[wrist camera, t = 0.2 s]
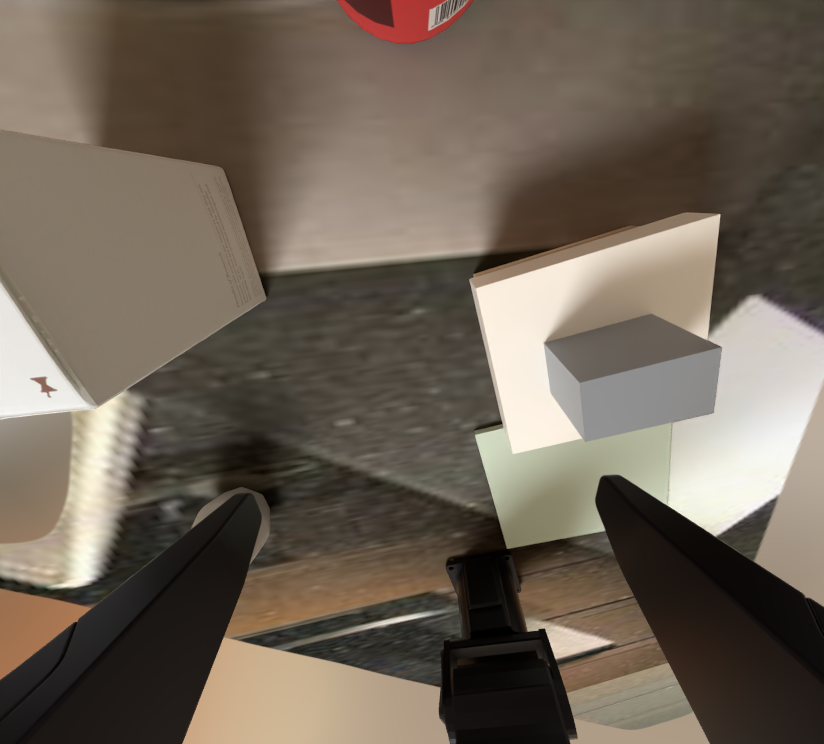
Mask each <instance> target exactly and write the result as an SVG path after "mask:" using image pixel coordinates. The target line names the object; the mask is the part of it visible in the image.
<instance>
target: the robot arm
mask: <svg viewBox="0 0 824 744" xmlns="http://www.w3.org/2000/svg"><path fill="white" fill-rule="evenodd" d="M595 504H596V508H597V511H598V513H599V516H600V518H601V521H602V523H603V526H604V528H605V531H606V533H607V536H608V538H609V541H610V544H611V546H612V549H613V551H614V554H615V556H616V559H617V561H618V563H619V566H620V568H621V570H622V572H623V574H624V577H625V579H626V581H627V583H628V585H629V586H630V588H631V590H632V592H633V594H634V596H635V598H636V600H637V602H638V604H639V606H640V608H641V610H642V612H643V614H644V616H645V618H646V620H647V622H648V624H649V626H650V627H651V629H652V631H653V633H654V635H655V637H656V639H657V641H658V643H659V645H660V647H661V649H662V651H663V653H664V655H665V657H666V659H667V661H668V663H669V665H670V667H671V669H672V670H673V672H674V674H675V676H676V678H677V680H678V682H679V684H680V686H681V688H682V690H683V692H684V694H685V696H686V698H687V700H688V702H689V704H690V706H691V708H692V710H693V711H694V713H695V715H696V717H697V719H698V721H699V723H700V725H701V727H702V729H703V731H704V733H705V735H706V737H707V739H708V741H709V743H710V744H824V607H823V606H821V605H820V604H819V603H817V602H815V601H814V600H812V599H811V598H806V597H805V595H804V594H802V593H801V592H800V591H798V590H797V589H795V588H794V587H792V586H791V585H789V584H787V583H786V582H784V581H783V580H781V579H780V578H778V577H777V576H775V575H774V574H772V573H771V572H769V571H767V570H766V569H764V568H763V567H761V566H760V565H758V564H757V563H755V562H754V561H752V560H751V559H749V558H747V557H746V556H744V555H743V554H741V553H740V552H738V551H737V550H735V549H734V548H732V547H731V546H729V545H727V544H726V543H724V542H723V541H721V540H720V539H718V538H717V537H715V536H714V535H712V534H710V533H709V532H707V531H706V530H704V529H703V528H701V527H700V526H698V525H697V524H695V523H694V522H692V521H690V520H689V519H687V518H686V517H684V516H683V515H681V514H680V513H678V512H677V511H675V510H674V509H672V508H670V507H669V506H667V505H666V504H664V503H663V502H661V501H660V500H658V499H657V498H655V497H653V496H652V495H650V494H649V493H647V492H646V491H644V490H643V489H641V488H640V487H638V486H637V485H635V484H633V483H632V482H630V481H629V480H627V479H626V478H624V477H623V476H621V475H617V474H614V475H603V476H601V477H600V480H599V484H598V488H597V492H596V496H595ZM261 522H262V514H261V511H260V509H259V506H258V504H257V502H256V499H255V497H254V495H253V494H252V493H237V494H235V495H233V496H232V497H231V498H229V499H228V500H227V501H226V502H224V503H223V504H222V505H220V506H219V507H218V508H217V509H215V510H214V511H213V512H212V513H210V514H209V515H208V516H207V517H205V518H204V519H203V520H202V521H200V522H199V523H198V524H197V525H195V526H194V527H193V528H192V529H190V530H189V531H188V532H187V533H185V534H184V535H183V536H182V537H180V538H179V539H178V540H177V541H175V542H174V543H173V544H172V545H170V546H169V547H168V548H167V549H165V550H164V551H163V552H162V553H160V554H159V555H158V556H157V557H155V558H154V559H153V560H152V561H150V562H149V563H148V564H147V565H145V566H144V567H143V568H142V569H140V570H139V571H138V572H137V573H135V574H134V575H133V576H132V577H130V578H129V579H128V580H127V581H125V582H124V583H123V584H122V585H120V586H119V587H118V588H117V589H115V590H114V591H113V592H112V593H110V594H109V595H108V596H107V597H105V598H104V599H103V600H102V601H100V602H99V603H98V604H97V605H95V606H94V607H93V608H92V609H90V610H89V611H88V612H87V613H85V614H84V615H83V616H82V617H80V618H79V620H78V622H74V623H73V624H71V625H70V626H69V627H68V628H66V629H65V630H64V631H63V632H61V633H60V634H59V635H58V636H56V637H55V638H54V639H53V640H51V641H50V642H49V643H48V644H46V645H45V646H44V647H42V648H41V649H40V650H39V651H37V652H36V653H35V654H33V655H32V656H31V657H30V658H28V659H27V660H26V661H24V662H23V663H22V664H21V665H20V666H18V667H17V668H16V669H14V670H13V671H11V672H10V673H9V674H7V675H6V676H5V677H3V678H2V679H1V680H0V744H182V743H183V741H184V738H185V736H186V733H187V730H188V728H189V725H190V722H191V720H192V717H193V715H194V712H195V710H196V707H197V705H198V702H199V699H200V697H201V694H202V691H203V689H204V686H205V684H206V681H207V679H208V676H209V673H210V671H211V668H212V666H213V663H214V661H215V658H216V655H217V653H218V650H219V648H220V645H221V642H222V640H223V637H224V635H225V632H226V630H227V627H228V624H229V622H230V619H231V617H232V614H233V611H234V609H235V606H236V604H237V601H238V598H239V596H240V593H241V590H242V588H243V585H244V582H245V579H246V576H247V572H248V569H249V565H250V562H251V558H252V554H253V551H254V547H255V544H256V540H257V537H258V533H259V530H260V526H261ZM446 570H447V573H448V575H449V577H450V579H451V582H452V584H453V586H454V589H455V591H456V593H457V596H458V604H459V613H460V623H461V632H462V640H454V641H450V640H444V650H442V651H441V670H442V678H441V691H440V702H439V717H440V719H441V721H442V722H443V723H444V724H445V726H446V730H447V733H448V737H449V741H450V744H570V741H569V740H573V739H577V732H576V728H575V723H574V719H573V715H572V711H571V708H570V704H569V700H568V697H567V694H566V690H565V687H564V684H563V681H562V678H561V675H560V672H559V669H558V666H557V663H556V660H555V657H554V654H553V651H552V648H551V645H550V642H549V639H548V636H547V634H546V631H545V628H544V629H538V630H539V631H531V632H528V631H527V627H526V623H525V619H524V615H523V612H522V608H521V604H520V600H519V596H518V593H519V592H521V587H520V583H519V580H518V576H517V572H516V569H515V565H514V562H513V558H512V554H511V552H509V551H504V552H498V553H493V554H487V555H482V556H477V557H471V558H466V559H460V560H455V561H449V562H447V563H446Z"/></svg>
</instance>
